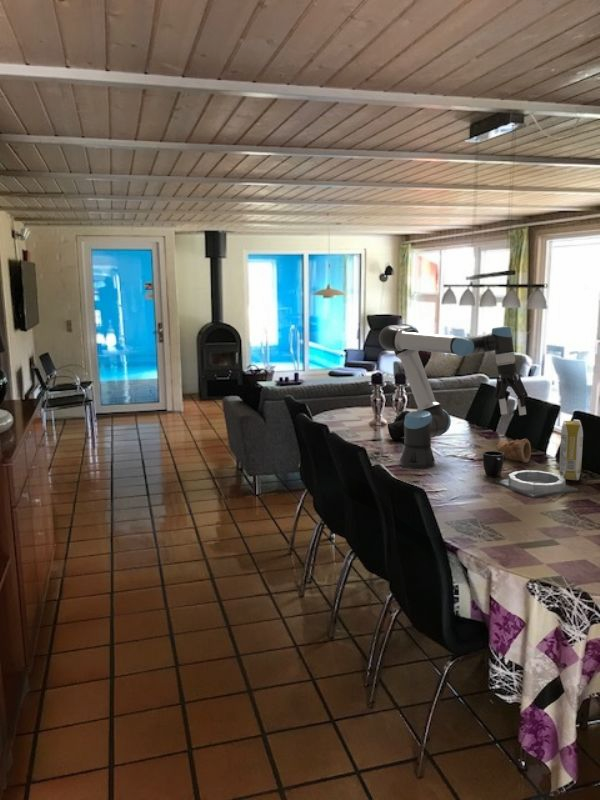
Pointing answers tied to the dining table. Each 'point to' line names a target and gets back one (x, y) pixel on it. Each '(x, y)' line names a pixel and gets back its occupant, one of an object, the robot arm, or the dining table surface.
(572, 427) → the juice carton
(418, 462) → the robot arm
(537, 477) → the duct collar
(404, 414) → the valve
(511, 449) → the clay pipe
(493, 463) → the mug
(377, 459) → the dining table surface
